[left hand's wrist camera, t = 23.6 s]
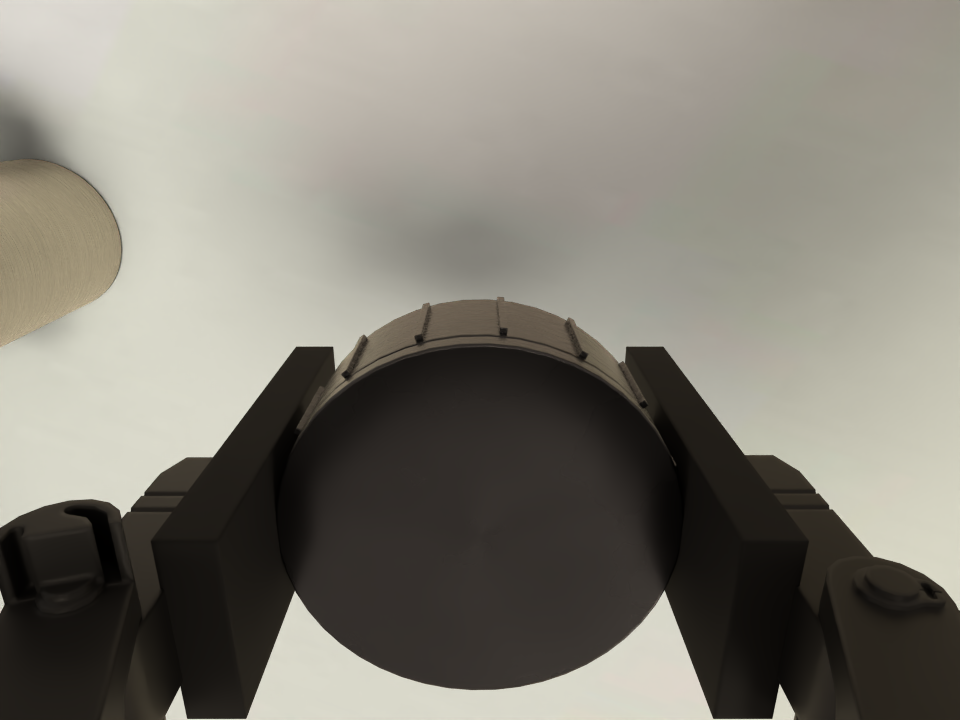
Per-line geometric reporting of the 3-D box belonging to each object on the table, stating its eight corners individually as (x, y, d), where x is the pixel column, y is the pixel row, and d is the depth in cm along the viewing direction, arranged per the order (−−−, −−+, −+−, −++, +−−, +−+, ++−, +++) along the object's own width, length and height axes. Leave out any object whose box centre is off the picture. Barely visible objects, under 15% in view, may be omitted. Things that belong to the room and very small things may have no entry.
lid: (278, 312, 11) (232, 361, 9) (651, 281, 11) (692, 323, 9) (338, 609, 13) (312, 704, 11) (650, 587, 13) (683, 679, 11)
